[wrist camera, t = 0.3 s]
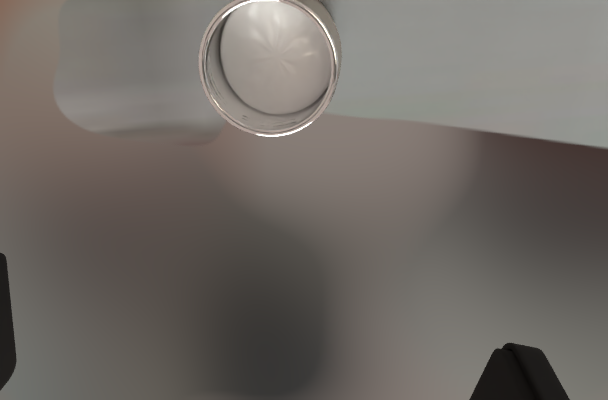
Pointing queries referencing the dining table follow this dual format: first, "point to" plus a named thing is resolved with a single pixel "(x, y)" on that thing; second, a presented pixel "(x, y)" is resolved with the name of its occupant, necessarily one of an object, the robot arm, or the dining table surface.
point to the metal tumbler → (270, 64)
